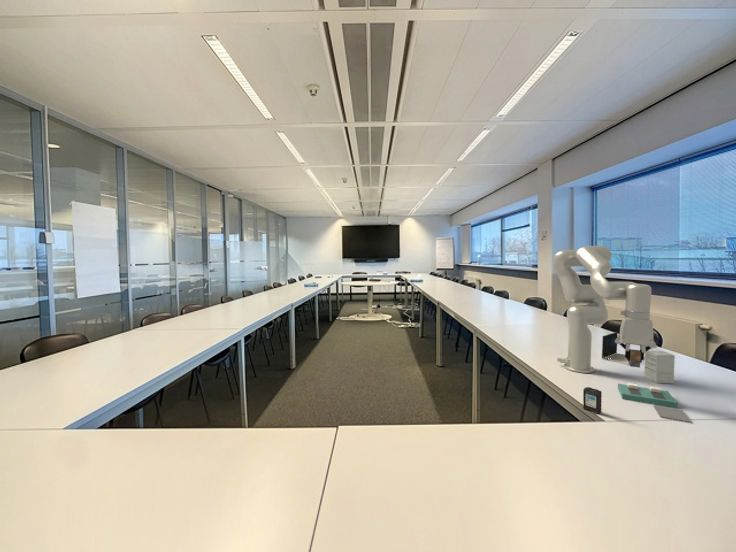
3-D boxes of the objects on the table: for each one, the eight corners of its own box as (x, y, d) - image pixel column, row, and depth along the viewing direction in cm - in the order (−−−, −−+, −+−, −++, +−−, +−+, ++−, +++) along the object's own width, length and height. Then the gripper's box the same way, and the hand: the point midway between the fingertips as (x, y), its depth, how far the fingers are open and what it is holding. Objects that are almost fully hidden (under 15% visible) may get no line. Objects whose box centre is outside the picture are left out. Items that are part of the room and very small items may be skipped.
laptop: (629, 366, 168) (630, 340, 167) (601, 359, 178) (602, 336, 178) (643, 360, 178) (644, 336, 177) (615, 354, 188) (616, 331, 187)
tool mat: (660, 417, 114) (660, 416, 114) (653, 405, 122) (653, 404, 122) (691, 423, 110) (692, 421, 110) (682, 410, 118) (682, 409, 118)
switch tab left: (628, 387, 134) (628, 384, 134) (627, 385, 136) (627, 382, 136) (638, 389, 132) (638, 386, 132) (636, 387, 134) (636, 384, 134)
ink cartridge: (583, 409, 120) (583, 387, 120) (586, 407, 121) (586, 386, 121) (598, 414, 116) (598, 392, 116) (601, 412, 117) (601, 390, 117)
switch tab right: (651, 391, 130) (651, 388, 130) (649, 389, 132) (649, 386, 132) (660, 392, 129) (661, 389, 129) (659, 390, 131) (659, 387, 131)
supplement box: (660, 377, 151) (662, 350, 150) (674, 383, 144) (675, 355, 143) (643, 377, 152) (644, 349, 151) (655, 383, 144) (657, 354, 144)
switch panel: (622, 398, 129) (622, 393, 128) (617, 388, 139) (617, 383, 139) (677, 408, 120) (677, 402, 120) (667, 396, 131) (668, 391, 131)
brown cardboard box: (630, 366, 130) (631, 351, 130) (628, 363, 133) (629, 349, 133) (640, 367, 128) (640, 352, 128) (637, 365, 132) (638, 350, 132)
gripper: (612, 315, 131) (609, 360, 132) (667, 319, 122) (663, 367, 124) (610, 311, 137) (607, 355, 139) (661, 315, 129) (658, 361, 130)
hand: (634, 360), depth 131 cm, fingers closed on brown cardboard box, 3 cm apart
